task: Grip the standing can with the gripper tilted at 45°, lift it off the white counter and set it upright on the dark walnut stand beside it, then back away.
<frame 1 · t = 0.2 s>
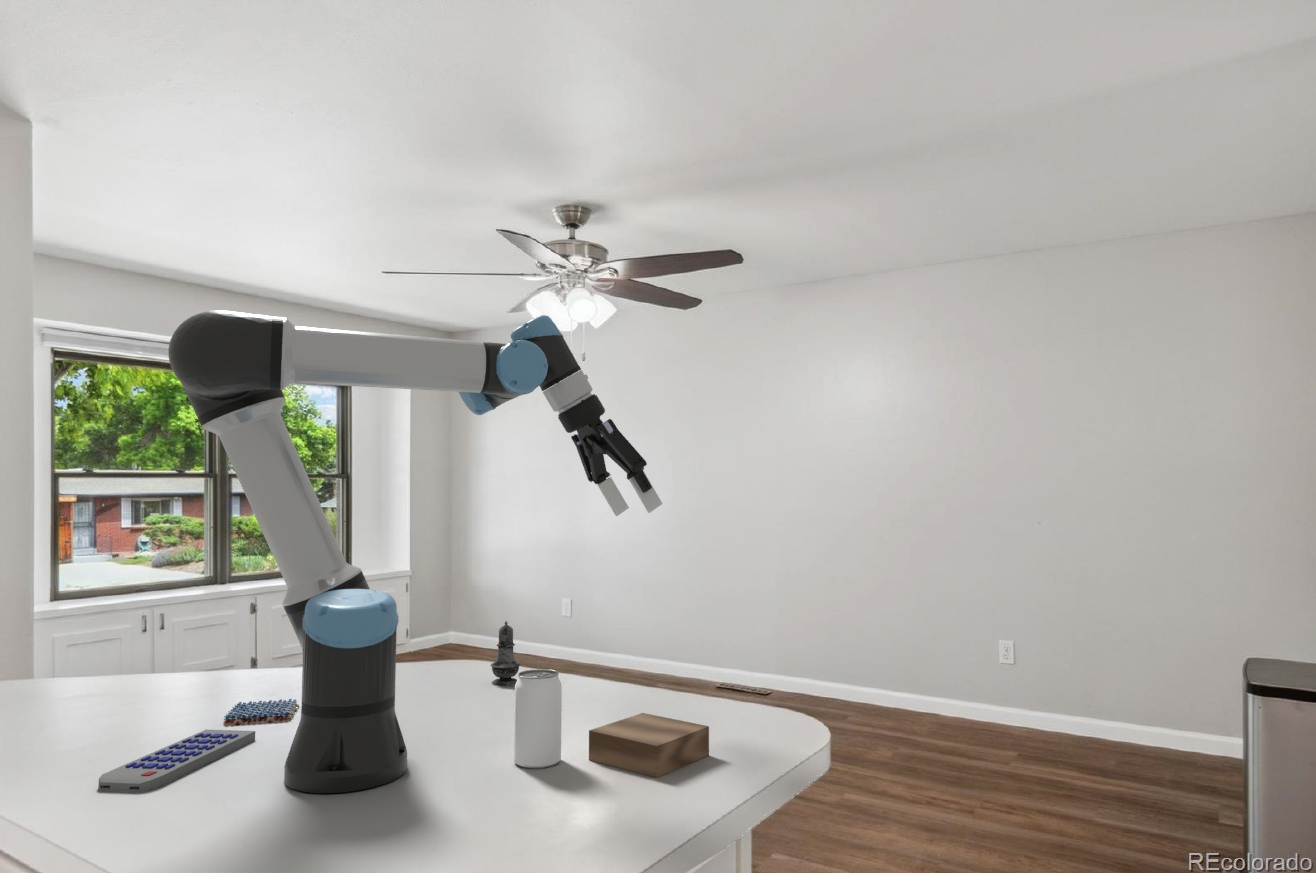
hand: (638, 510, 142), 34 cm above the kitchen island, tool tilted 30°, fingers open, 13 cm apart
woven mat: (262, 720, 139), on the kitchen island
remote control: (180, 766, 114), on the kitchen island
can: (537, 763, 114), on the kitchen island
walnut stand: (649, 757, 116), on the kitchen island
salt shaker: (505, 683, 164), on the kitchen island
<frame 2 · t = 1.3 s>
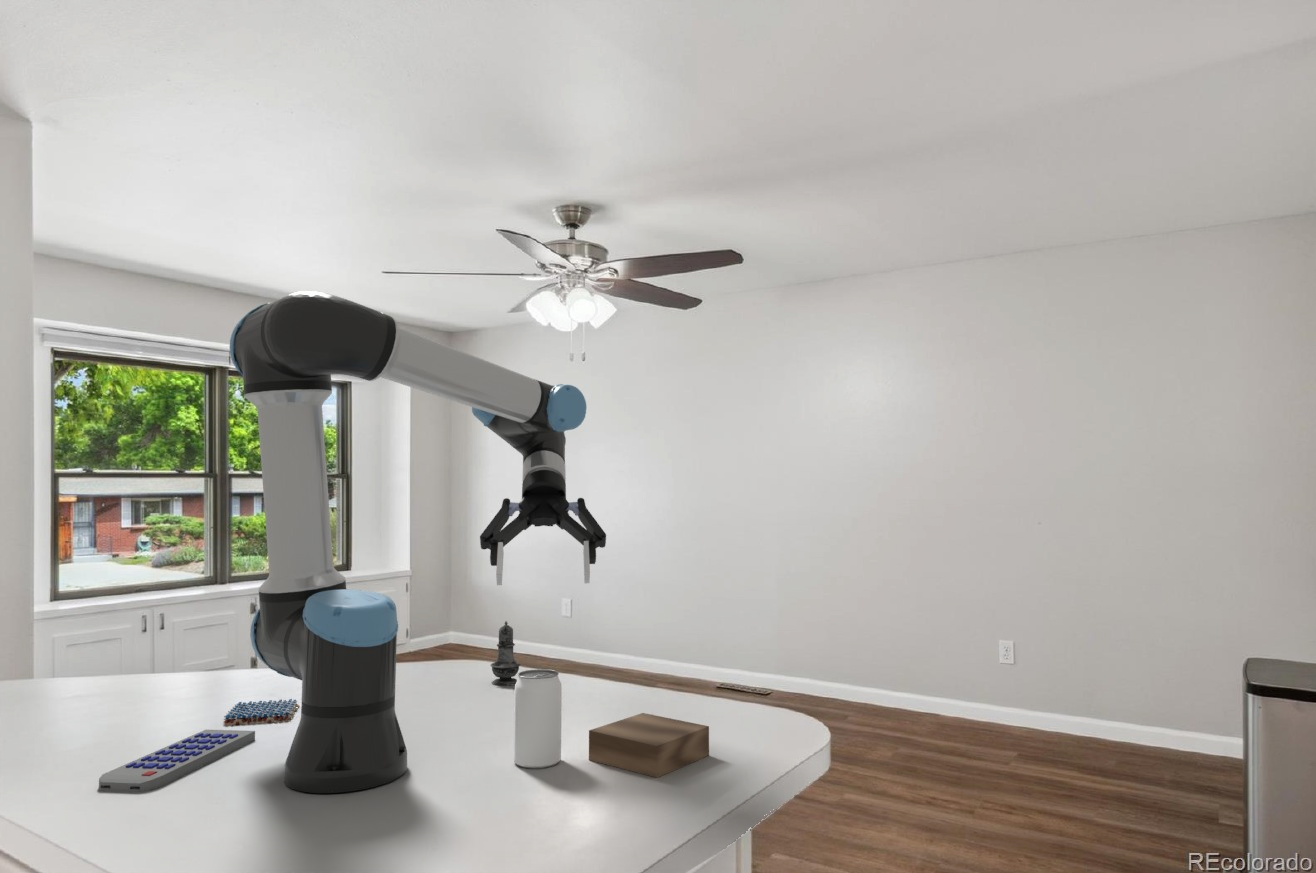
hand: (543, 579, 129), 24 cm above the kitchen island, tool tilted 45°, fingers open, 13 cm apart
nothing on the kitchen island moved.
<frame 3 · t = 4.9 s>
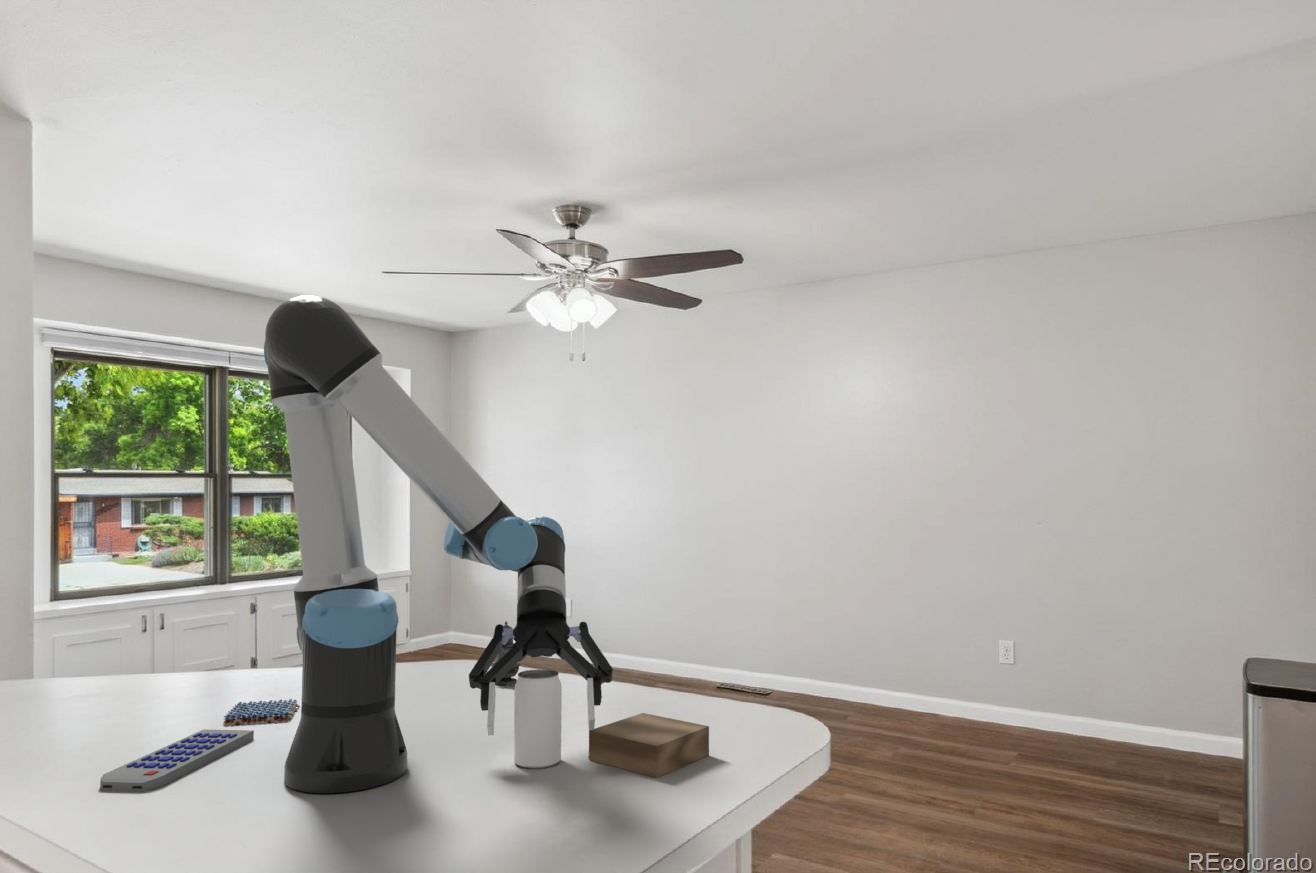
hand: (541, 728, 113), 5 cm above the kitchen island, tool tilted 45°, fingers open, 13 cm apart
nothing on the kitchen island moved.
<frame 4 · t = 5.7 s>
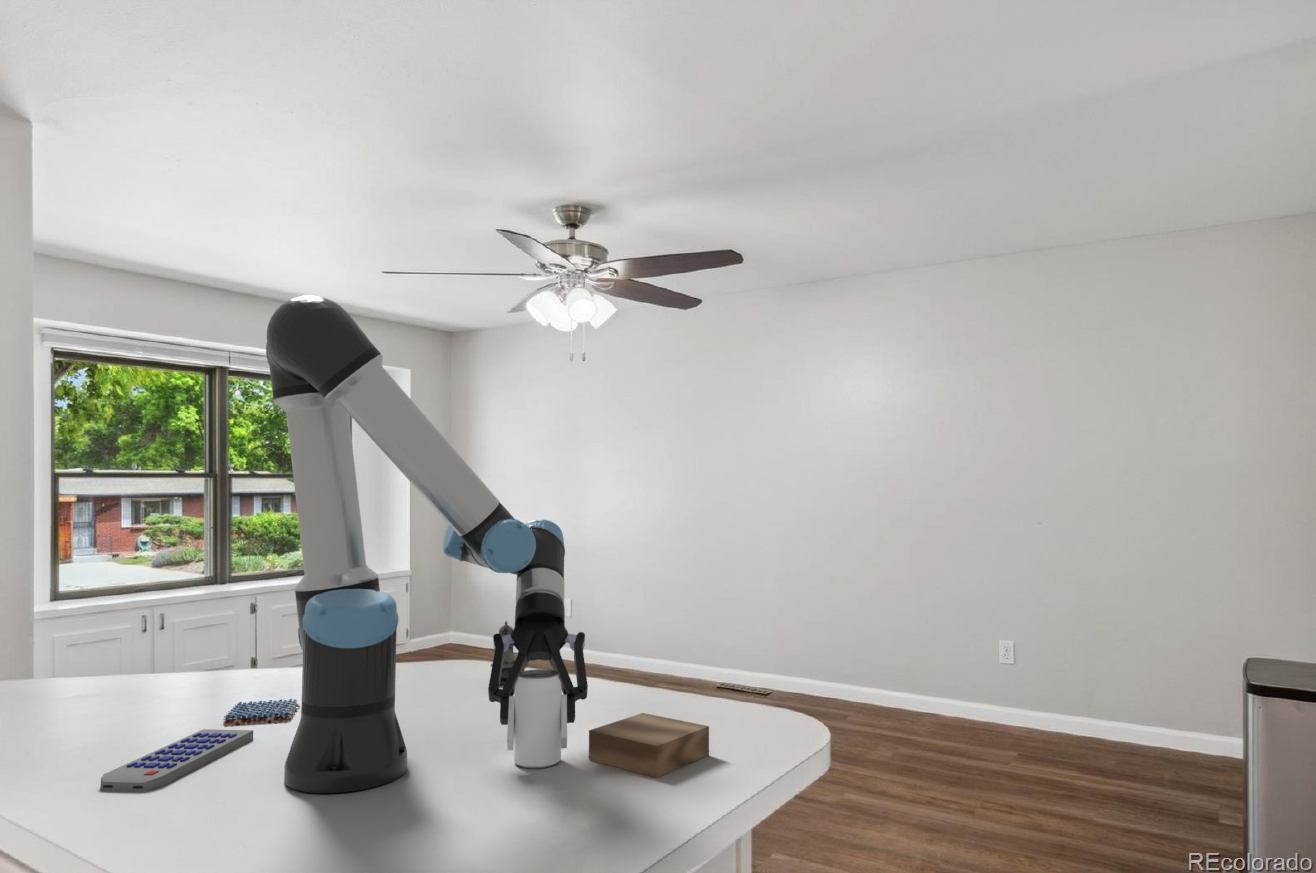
hand: (537, 743, 111), 3 cm above the kitchen island, tool tilted 45°, fingers closed on can, 6 cm apart
can: (537, 763, 114), on the kitchen island, touching gripper
everything else where it was.
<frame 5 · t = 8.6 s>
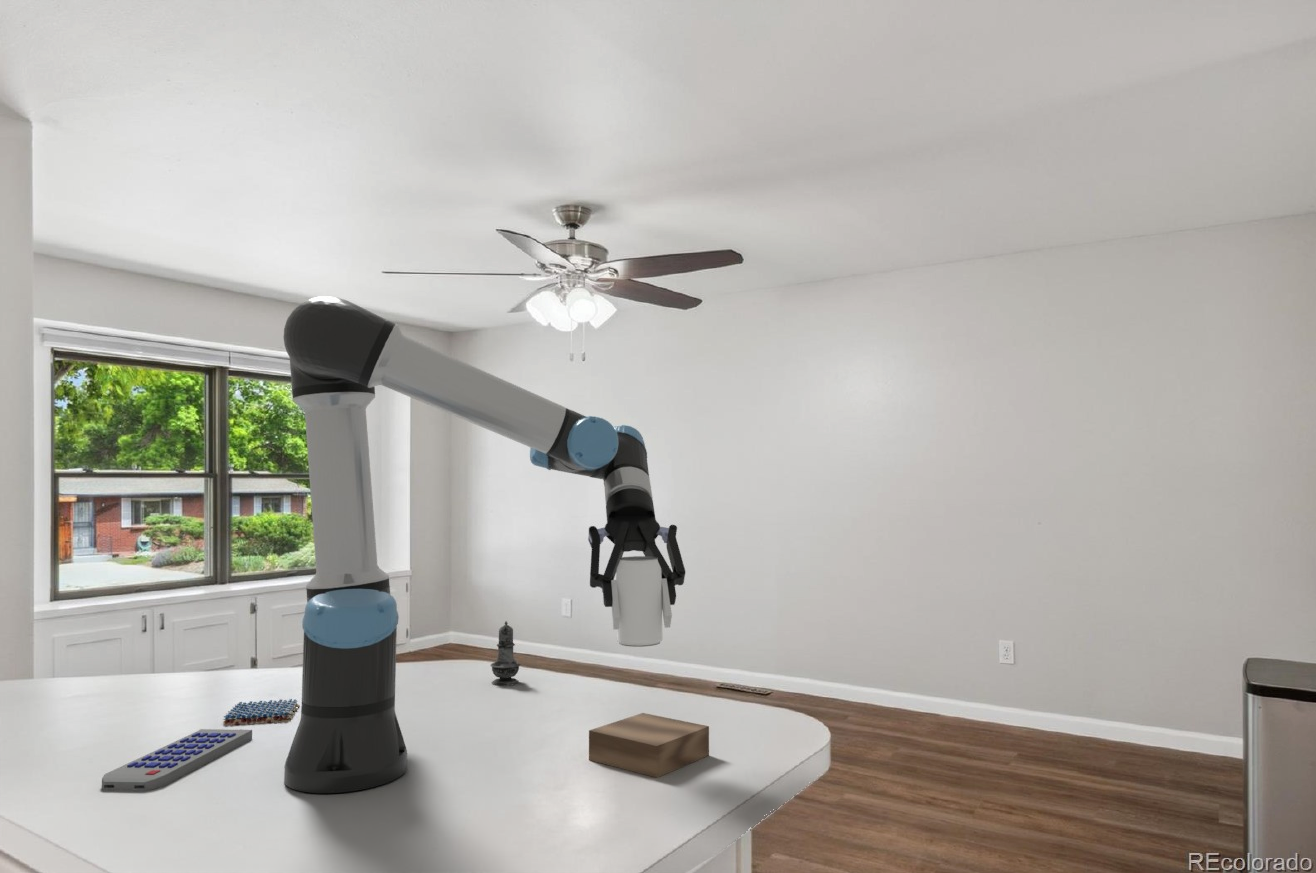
hand: (642, 622, 115), 19 cm above the kitchen island, tool tilted 45°, fingers closed on can, 6 cm apart
can: (639, 644, 118), point 16 cm above the kitchen island, touching gripper
everything else where it was.
when the fingers open (9 cm above the kitchen island, at t = 11.3 s): can drops 1 cm, resting on walnut stand.
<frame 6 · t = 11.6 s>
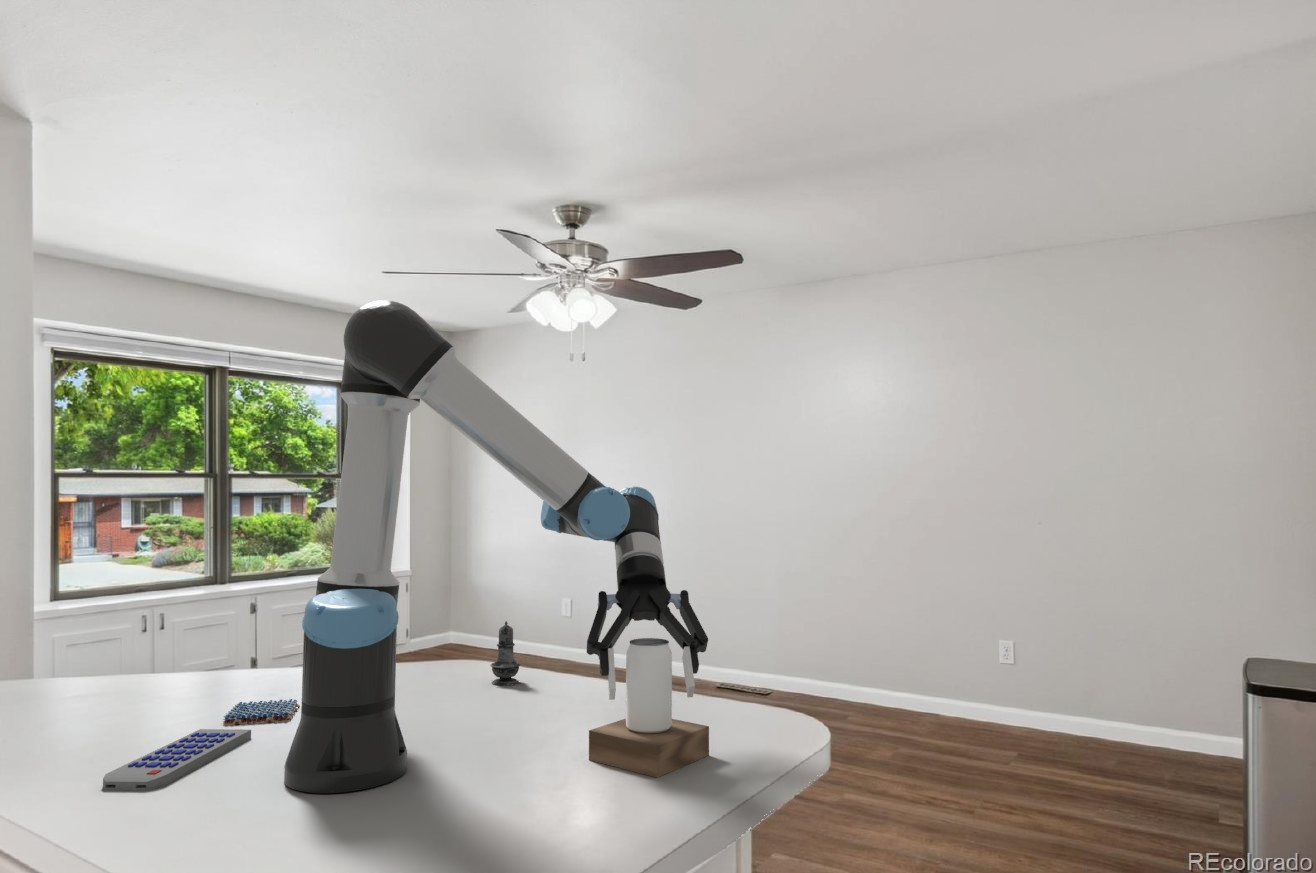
hand: (652, 693, 114), 10 cm above the kitchen island, tool tilted 45°, fingers open, 10 cm apart
can: (648, 729, 117), point 4 cm above the kitchen island, touching walnut stand
everything else where it was.
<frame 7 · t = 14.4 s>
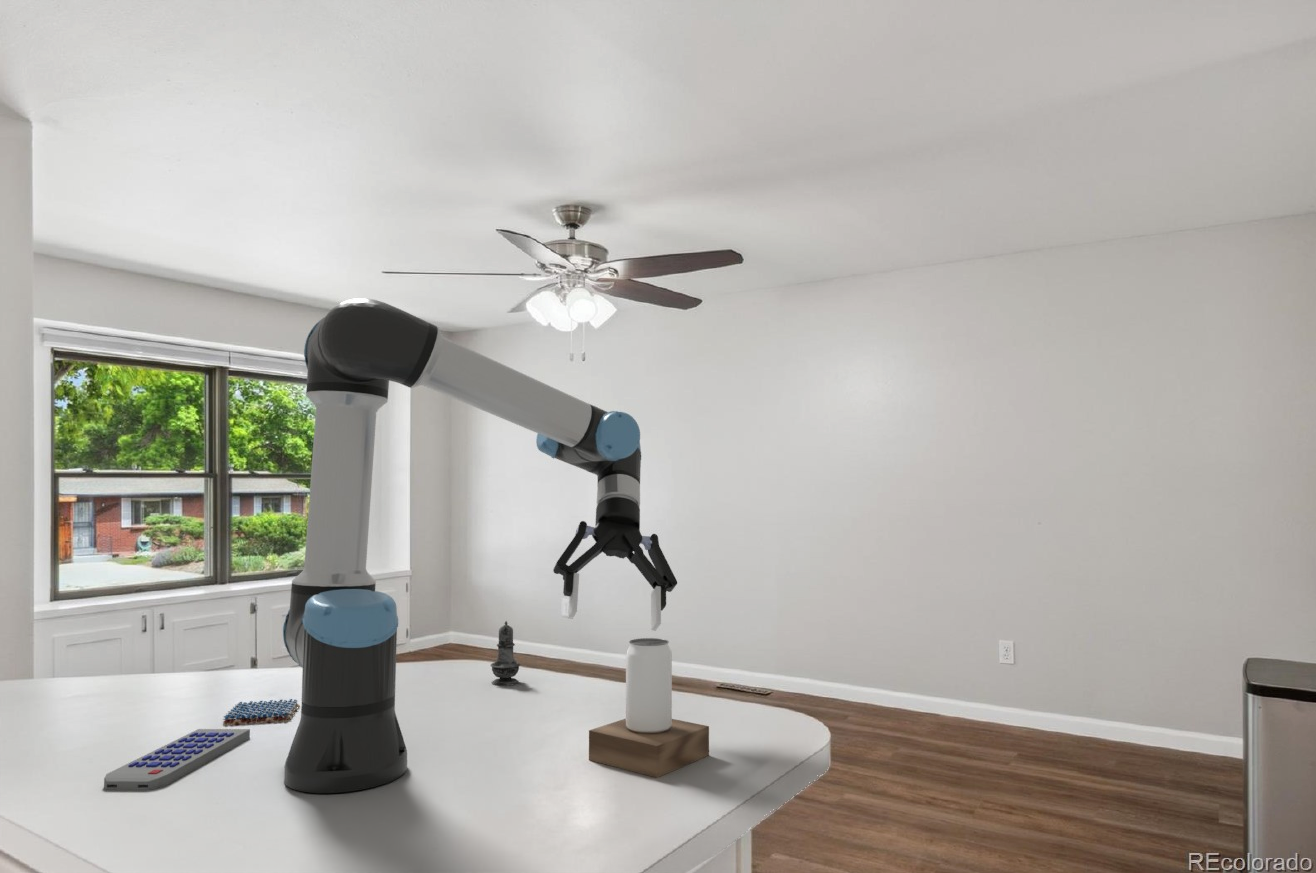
hand: (614, 621, 130), 17 cm above the kitchen island, tool tilted 35°, fingers open, 13 cm apart
nothing on the kitchen island moved.
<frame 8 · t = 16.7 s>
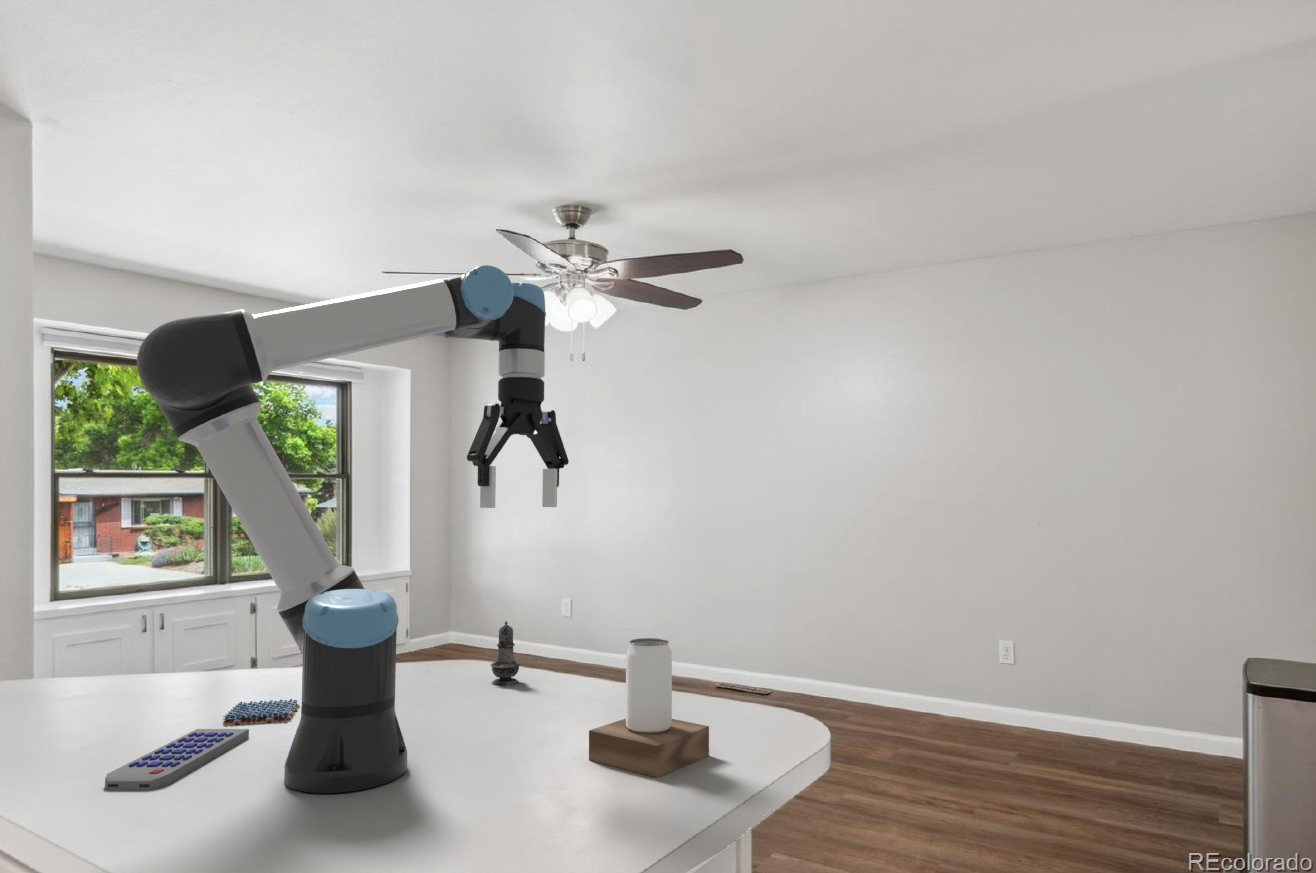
hand: (519, 507, 135), 35 cm above the kitchen island, tool pointing down, fingers open, 13 cm apart
nothing on the kitchen island moved.
at the end: can inside the target area on the walnut stand (0.1 cm from its centre), point 3.8 cm above the walnut stand's base; can tilted 0°; the gripper is holding nothing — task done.
